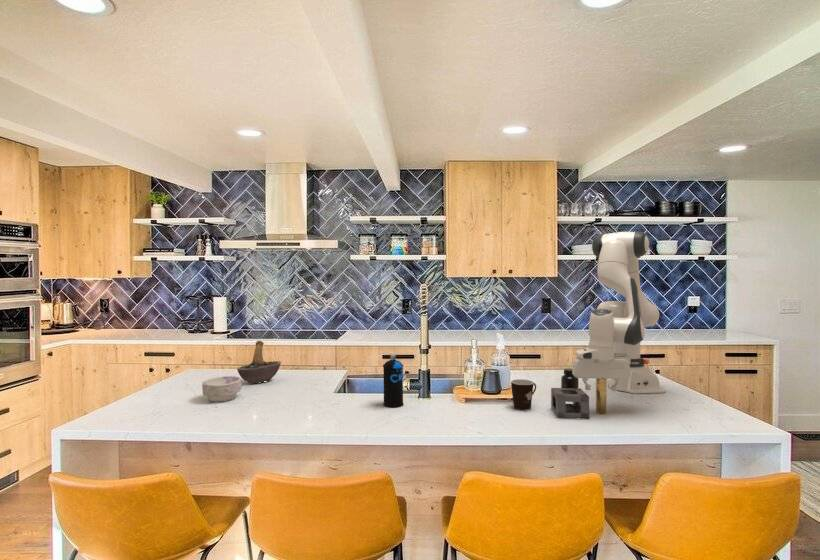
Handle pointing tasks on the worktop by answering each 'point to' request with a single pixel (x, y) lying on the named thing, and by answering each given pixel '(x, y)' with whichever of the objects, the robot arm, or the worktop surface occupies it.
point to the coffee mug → (522, 393)
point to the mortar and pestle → (259, 367)
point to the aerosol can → (393, 383)
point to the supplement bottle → (569, 379)
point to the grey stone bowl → (221, 388)
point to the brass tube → (601, 395)
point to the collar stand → (570, 410)
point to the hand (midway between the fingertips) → (601, 390)
